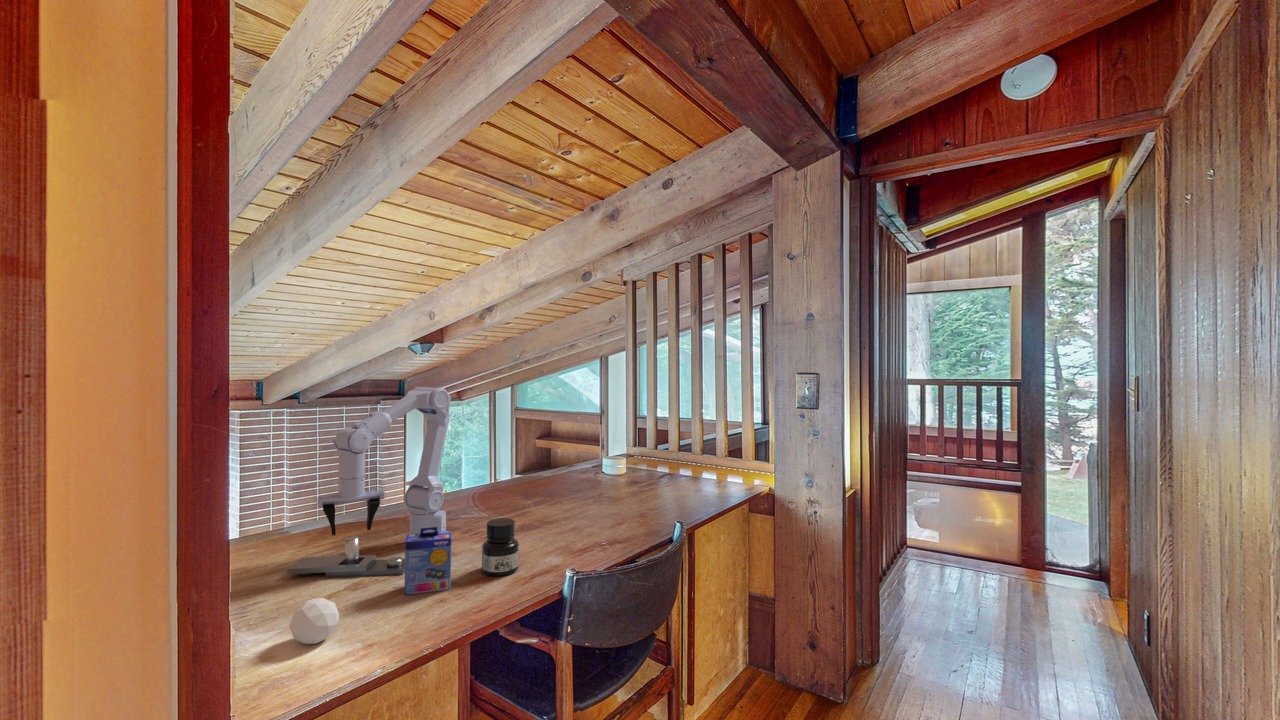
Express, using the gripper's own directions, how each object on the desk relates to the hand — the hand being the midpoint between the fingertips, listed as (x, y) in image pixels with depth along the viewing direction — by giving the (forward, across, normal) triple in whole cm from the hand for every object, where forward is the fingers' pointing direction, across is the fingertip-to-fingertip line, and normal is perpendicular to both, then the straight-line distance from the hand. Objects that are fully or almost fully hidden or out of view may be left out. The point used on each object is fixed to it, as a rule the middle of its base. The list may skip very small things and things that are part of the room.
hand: (351, 531), depth 132 cm
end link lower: (+9, -4, +3) cm, 11 cm away
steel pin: (+9, 0, +1) cm, 9 cm away
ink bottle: (+10, -31, +19) cm, 38 cm away
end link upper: (+9, +4, -1) cm, 10 cm away
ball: (+10, +9, +34) cm, 36 cm away
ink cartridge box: (+10, -14, +21) cm, 27 cm away
